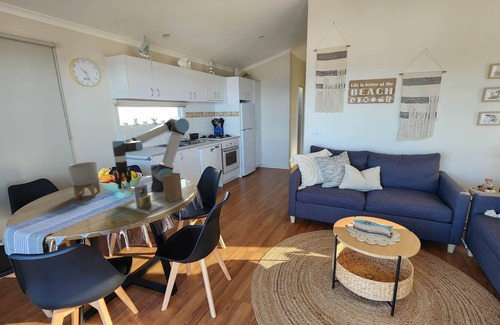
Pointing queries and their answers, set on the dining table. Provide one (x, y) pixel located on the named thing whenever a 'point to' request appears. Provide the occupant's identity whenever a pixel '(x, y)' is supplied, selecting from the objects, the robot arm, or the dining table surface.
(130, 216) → the dining table surface
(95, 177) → the planter
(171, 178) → the wooden block
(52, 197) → the dining table surface
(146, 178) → the dining table surface
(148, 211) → the jig
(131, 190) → the shaft
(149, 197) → the spacer
